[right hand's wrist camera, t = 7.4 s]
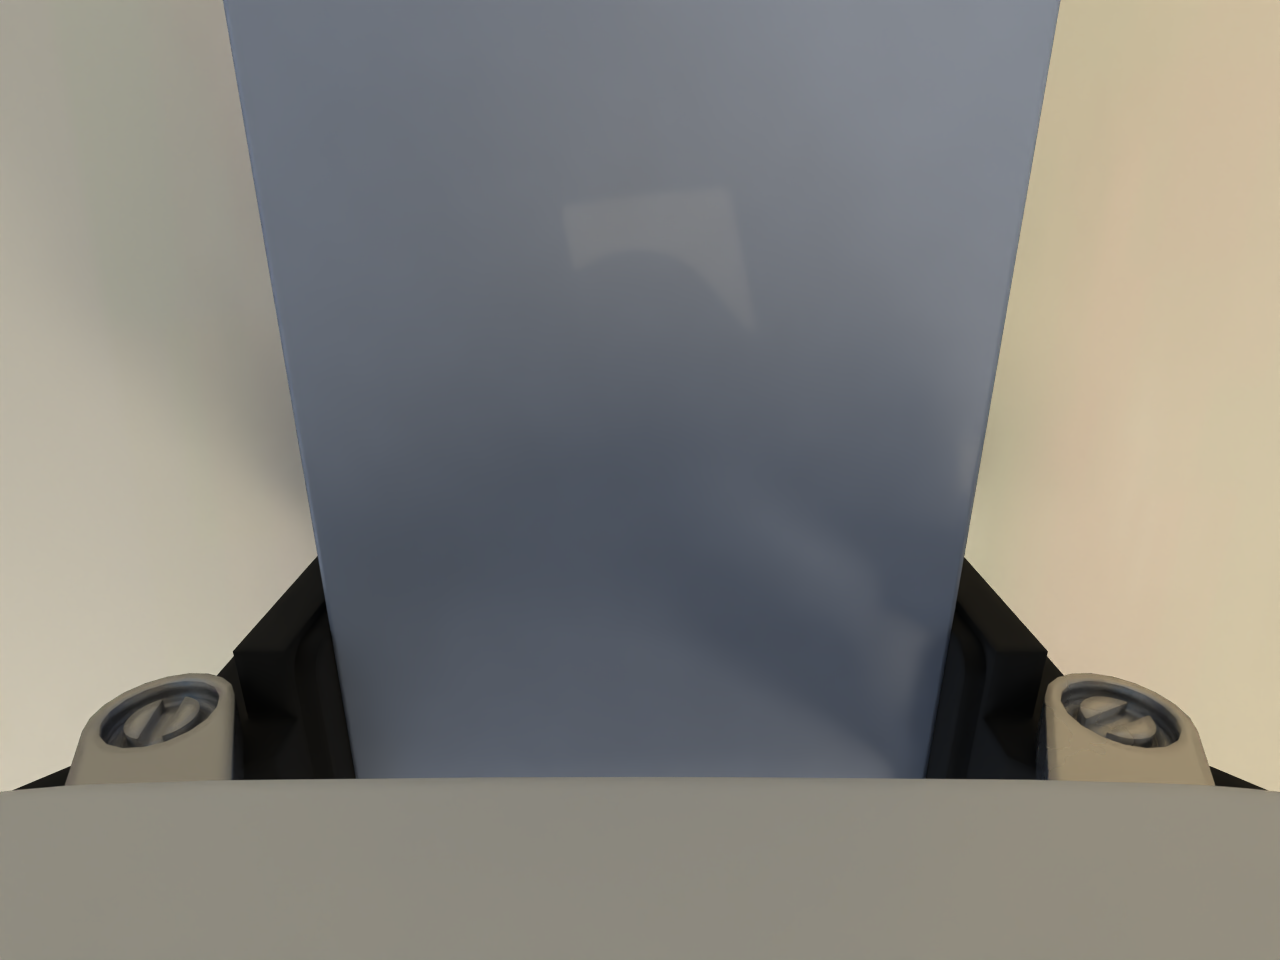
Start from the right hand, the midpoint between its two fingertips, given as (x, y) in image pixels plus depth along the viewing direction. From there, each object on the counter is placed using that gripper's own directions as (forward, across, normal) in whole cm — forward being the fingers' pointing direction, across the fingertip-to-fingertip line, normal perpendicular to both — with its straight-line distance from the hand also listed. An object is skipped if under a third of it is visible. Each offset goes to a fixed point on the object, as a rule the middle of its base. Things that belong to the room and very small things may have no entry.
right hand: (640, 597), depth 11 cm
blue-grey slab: (+5, 0, -3) cm, 6 cm away
